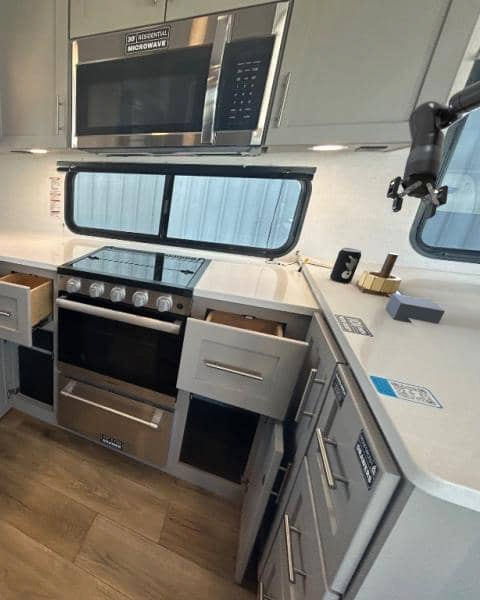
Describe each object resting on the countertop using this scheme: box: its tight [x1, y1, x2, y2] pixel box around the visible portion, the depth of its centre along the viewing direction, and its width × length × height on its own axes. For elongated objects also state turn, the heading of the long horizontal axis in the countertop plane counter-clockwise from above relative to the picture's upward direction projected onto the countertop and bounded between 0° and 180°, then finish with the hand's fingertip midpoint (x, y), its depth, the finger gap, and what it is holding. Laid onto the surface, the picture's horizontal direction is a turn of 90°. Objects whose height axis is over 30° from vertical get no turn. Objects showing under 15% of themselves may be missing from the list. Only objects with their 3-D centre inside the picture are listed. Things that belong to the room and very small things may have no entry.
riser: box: [385, 293, 446, 325], centre depth 93 cm, size 9×9×5 cm
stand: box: [356, 252, 402, 298], centre depth 111 cm, size 10×10×14 cm
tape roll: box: [357, 270, 403, 293], centre depth 113 cm, size 10×10×4 cm
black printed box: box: [329, 247, 362, 284], centre depth 121 cm, size 7×7×12 cm
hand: (412, 214), depth 98 cm, fingers open, 8 cm apart
